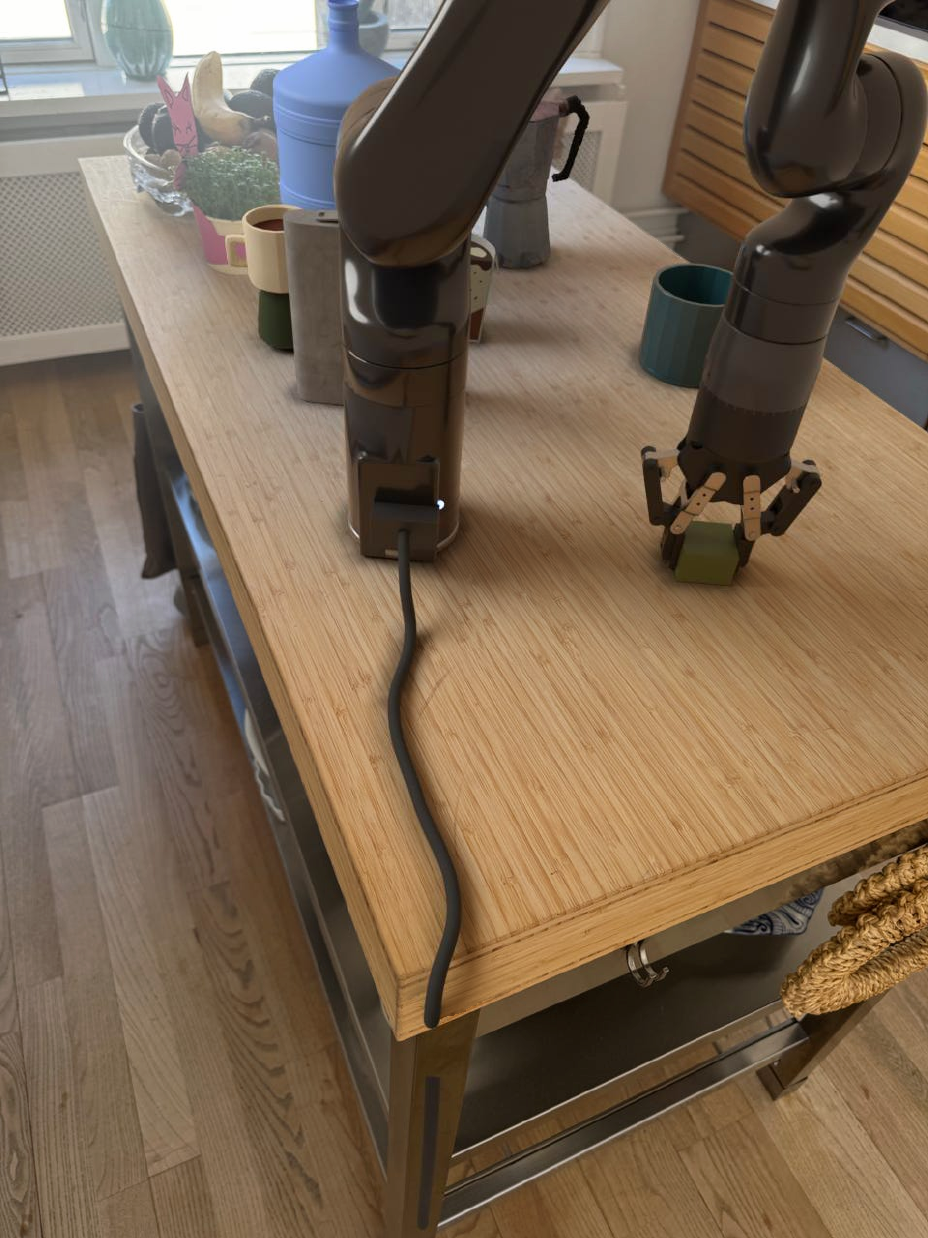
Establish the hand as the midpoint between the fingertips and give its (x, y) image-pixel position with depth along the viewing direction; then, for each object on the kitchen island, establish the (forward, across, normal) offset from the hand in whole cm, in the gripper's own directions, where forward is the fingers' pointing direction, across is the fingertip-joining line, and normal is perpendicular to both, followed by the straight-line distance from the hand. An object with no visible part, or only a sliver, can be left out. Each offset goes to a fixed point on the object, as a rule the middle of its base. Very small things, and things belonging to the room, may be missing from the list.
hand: (701, 562), depth 77 cm
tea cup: (0, +2, +34) cm, 34 cm away
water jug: (0, -37, +50) cm, 62 cm away
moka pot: (0, -17, +59) cm, 61 cm away
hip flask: (0, -30, +22) cm, 37 cm away
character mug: (0, -41, +32) cm, 52 cm away
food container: (0, -25, +38) cm, 45 cm away
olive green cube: (0, 0, 0) cm, 0 cm away
